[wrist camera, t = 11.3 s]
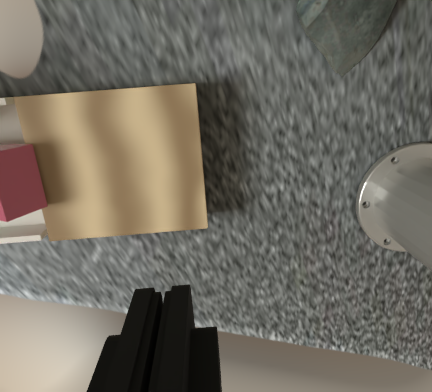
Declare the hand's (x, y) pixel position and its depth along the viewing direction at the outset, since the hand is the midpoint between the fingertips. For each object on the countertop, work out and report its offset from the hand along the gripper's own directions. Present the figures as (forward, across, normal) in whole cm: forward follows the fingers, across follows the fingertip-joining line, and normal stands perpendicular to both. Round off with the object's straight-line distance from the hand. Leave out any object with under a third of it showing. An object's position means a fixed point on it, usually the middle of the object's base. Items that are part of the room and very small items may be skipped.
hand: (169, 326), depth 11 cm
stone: (+28, -16, -12) cm, 34 cm away
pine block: (+27, +7, 0) cm, 28 cm away
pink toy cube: (+24, +17, 0) cm, 29 cm away
